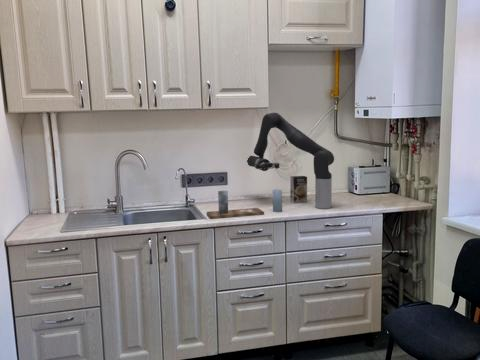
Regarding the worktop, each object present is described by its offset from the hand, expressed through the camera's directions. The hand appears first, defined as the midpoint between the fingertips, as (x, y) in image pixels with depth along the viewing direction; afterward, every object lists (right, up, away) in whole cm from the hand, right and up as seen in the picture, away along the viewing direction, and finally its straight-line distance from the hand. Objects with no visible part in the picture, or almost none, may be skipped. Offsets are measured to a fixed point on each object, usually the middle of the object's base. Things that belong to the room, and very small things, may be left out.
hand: (270, 167), depth 255 cm
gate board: (-21, -27, -13) cm, 36 cm away
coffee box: (+19, -21, +18) cm, 34 cm away
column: (+3, -25, -7) cm, 26 cm away
